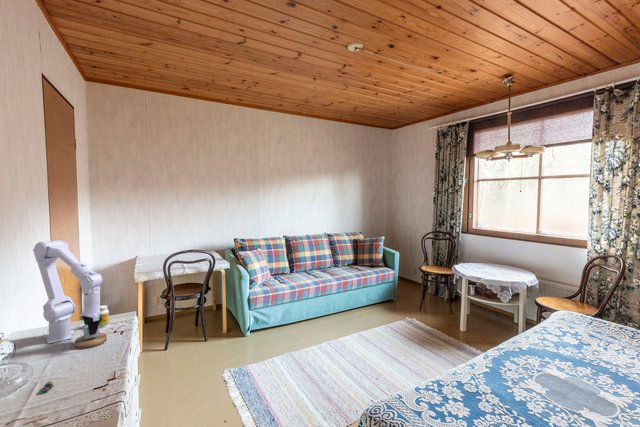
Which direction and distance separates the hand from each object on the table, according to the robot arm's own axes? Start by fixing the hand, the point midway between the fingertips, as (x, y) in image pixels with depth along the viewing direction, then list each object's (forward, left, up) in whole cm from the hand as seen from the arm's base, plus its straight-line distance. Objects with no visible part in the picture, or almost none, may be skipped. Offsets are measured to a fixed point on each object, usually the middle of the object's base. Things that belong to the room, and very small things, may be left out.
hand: (91, 332), depth 128 cm
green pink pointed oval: (+30, -14, -5) cm, 34 cm away
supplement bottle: (-18, +6, -5) cm, 20 cm away
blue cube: (0, 0, -1) cm, 1 cm away
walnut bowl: (0, 0, -5) cm, 5 cm away
